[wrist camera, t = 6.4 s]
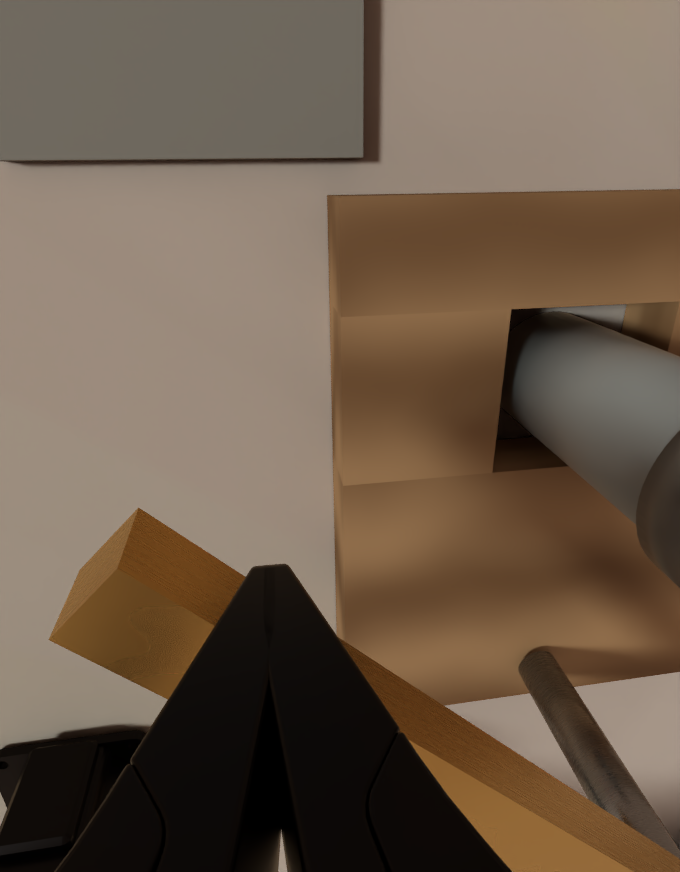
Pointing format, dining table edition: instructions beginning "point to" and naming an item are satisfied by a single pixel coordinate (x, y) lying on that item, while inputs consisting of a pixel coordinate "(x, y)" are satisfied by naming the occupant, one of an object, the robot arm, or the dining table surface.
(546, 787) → the bar
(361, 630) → the socket base
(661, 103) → the dining table surface
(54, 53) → the rubber mat
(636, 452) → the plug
